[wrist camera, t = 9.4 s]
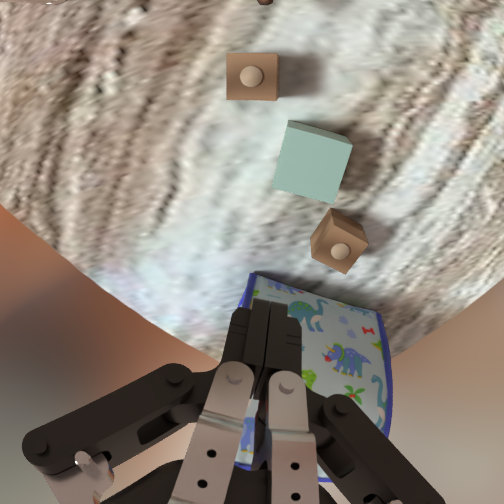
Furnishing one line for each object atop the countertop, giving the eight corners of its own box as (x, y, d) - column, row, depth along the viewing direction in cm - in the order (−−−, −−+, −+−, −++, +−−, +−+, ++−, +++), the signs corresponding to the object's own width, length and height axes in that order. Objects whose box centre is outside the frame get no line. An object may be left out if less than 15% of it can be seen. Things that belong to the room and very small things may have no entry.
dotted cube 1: (330, 207, 40) (334, 225, 36) (361, 225, 41) (369, 245, 37) (310, 237, 43) (311, 258, 39) (341, 253, 44) (345, 275, 39)
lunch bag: (223, 339, 55) (187, 478, 33) (246, 263, 46) (205, 431, 24) (341, 367, 56) (346, 500, 34) (385, 302, 47) (421, 458, 25)
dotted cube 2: (235, 55, 32) (226, 53, 28) (279, 56, 32) (277, 53, 27) (235, 96, 35) (226, 100, 30) (278, 97, 34) (276, 101, 30)
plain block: (288, 119, 36) (287, 126, 31) (345, 136, 36) (352, 145, 31) (274, 174, 39) (271, 187, 35) (329, 188, 39) (333, 204, 35)
